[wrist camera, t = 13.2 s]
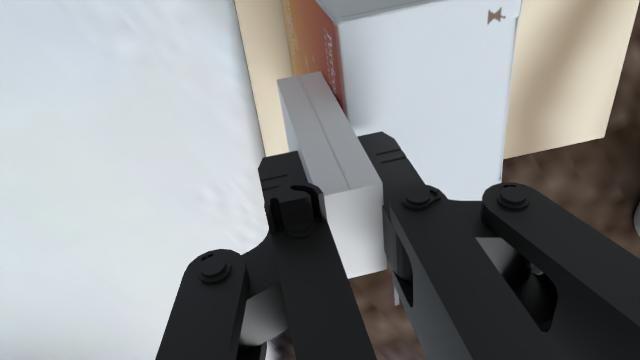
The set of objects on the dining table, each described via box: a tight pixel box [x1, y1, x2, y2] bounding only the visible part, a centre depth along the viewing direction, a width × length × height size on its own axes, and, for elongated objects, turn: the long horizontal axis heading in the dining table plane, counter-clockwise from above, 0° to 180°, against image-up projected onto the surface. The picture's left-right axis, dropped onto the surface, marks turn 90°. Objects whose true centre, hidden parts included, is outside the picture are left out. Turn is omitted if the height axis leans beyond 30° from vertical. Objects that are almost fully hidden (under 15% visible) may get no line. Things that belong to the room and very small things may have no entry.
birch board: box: [234, 0, 639, 159], centre depth 25 cm, size 21×20×1 cm
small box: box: [281, 0, 522, 201], centre depth 20 cm, size 8×6×10 cm
